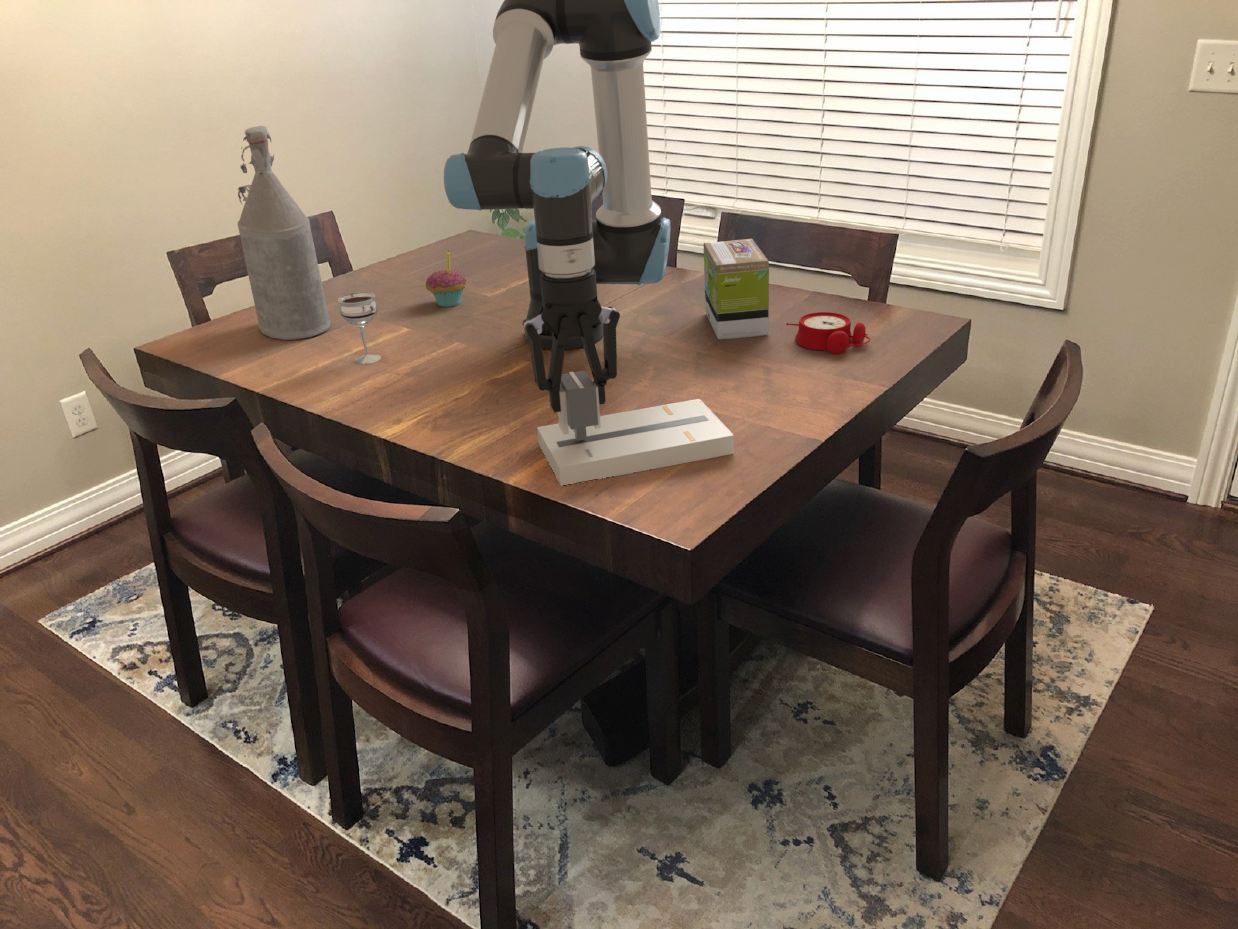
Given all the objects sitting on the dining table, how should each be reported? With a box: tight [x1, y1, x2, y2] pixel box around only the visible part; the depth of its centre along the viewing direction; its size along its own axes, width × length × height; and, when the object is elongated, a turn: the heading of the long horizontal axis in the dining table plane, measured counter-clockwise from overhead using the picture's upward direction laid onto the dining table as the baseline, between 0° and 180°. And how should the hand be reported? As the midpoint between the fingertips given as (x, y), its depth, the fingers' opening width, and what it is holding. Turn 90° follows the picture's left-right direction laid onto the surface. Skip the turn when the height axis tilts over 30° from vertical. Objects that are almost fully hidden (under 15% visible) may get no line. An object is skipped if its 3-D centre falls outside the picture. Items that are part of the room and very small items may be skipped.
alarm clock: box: [785, 311, 871, 355], centre depth 184 cm, size 10×6×15 cm
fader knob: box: [560, 370, 598, 441], centre depth 145 cm, size 6×4×9 cm, turn 17°
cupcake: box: [425, 248, 467, 308], centre depth 214 cm, size 9×8×12 cm
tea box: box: [703, 238, 770, 340], centre depth 192 cm, size 15×10×15 cm
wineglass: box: [337, 291, 382, 365], centre depth 187 cm, size 7×7×12 cm
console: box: [536, 398, 735, 486], centre depth 150 cm, size 14×26×3 cm, turn 107°
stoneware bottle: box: [236, 125, 331, 341], centre depth 198 cm, size 13×17×40 cm
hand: (580, 427), depth 147 cm, fingers closed on fader knob, 4 cm apart
